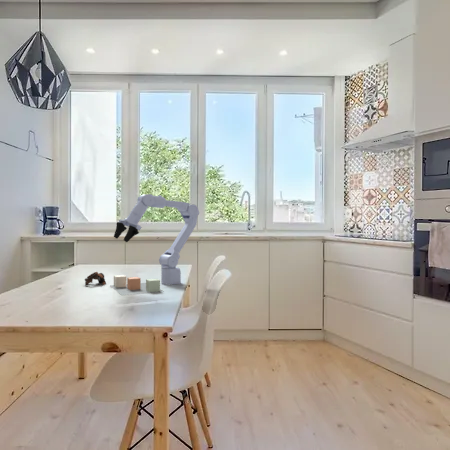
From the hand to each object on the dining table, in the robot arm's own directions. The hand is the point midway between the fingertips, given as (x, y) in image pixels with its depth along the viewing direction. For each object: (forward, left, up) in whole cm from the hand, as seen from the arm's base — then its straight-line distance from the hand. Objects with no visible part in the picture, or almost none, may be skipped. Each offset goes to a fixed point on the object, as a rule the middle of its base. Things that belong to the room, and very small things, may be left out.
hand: (120, 239), depth 176 cm
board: (-7, +3, -24) cm, 25 cm away
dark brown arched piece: (+8, -18, -24) cm, 31 cm away
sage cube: (-12, +12, -23) cm, 29 cm away
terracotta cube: (-6, +3, -23) cm, 24 cm away
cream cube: (-1, -6, -23) cm, 24 cm away
